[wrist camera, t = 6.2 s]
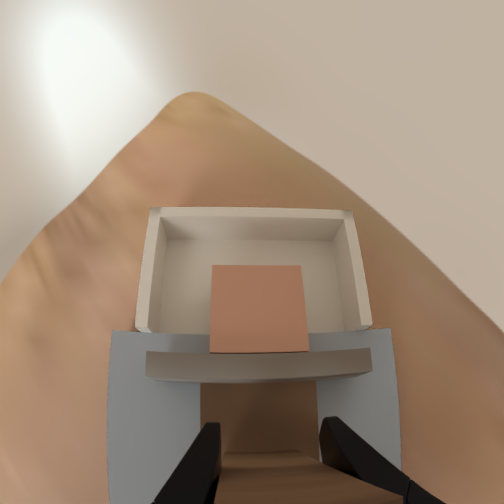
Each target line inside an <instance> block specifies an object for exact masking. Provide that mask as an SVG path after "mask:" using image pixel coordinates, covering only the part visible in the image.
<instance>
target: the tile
mask: <svg viewBox="0 0 504 504" xmlns="http://www.w3.org/2000/svg"><path fill="white" fill-rule="evenodd" d="M309 351H310V350H309V339H308V328H307V318H306V308H305V298H304V289H303V280H302V271H301V265H212V284H211V313H210V354H269V353H299V352H309Z"/></svg>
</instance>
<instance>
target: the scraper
mask: <svg viewBox="0 0 504 504" xmlns="http://www.w3.org/2000/svg"><path fill="white" fill-rule="evenodd" d="M371 371H373V367H372V358H371V349H370V348H359V349H347V350H334V351H318V352H299V353H269V354H207V353H177V352H157V351H146V364H145V376H147V377H149V378H151V379H153V380H155V381H162V382H178V383H200V430H201V429H202V427H203V426H204V424H205V423H206V422H219V423H220V426H221V461H222V469H221V473H220V477H219V482H218V486H217V491H216V496H215V500H214V504H403V496H401V495H398V494H395V493H392V492H390V491H387V490H384V489H382V488H379V487H376V486H374V485H371V484H369V483H367V482H364V481H362V480H359V479H357V478H355V477H352V476H350V475H348V474H345V473H343V472H341V471H339V470H337V469H334V468H332V467H330V466H327V465H325V464H323V463H322V462H320V457H319V428H318V407H317V389H316V381H322V380H334V379H344V378H354V377H358V376H360V375H363V374H366V373H368V372H371Z"/></svg>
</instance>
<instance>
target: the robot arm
mask: <svg viewBox="0 0 504 504" xmlns="http://www.w3.org/2000/svg"><path fill="white" fill-rule="evenodd" d="M319 444H320V450H321V457H322V463H323V464H325V465H327V466H330V467H332V468H334V469H337V470H339V471H341V472H343V473H345V474H348V475H350V476H352V477H355V478H357V479H359V480H362V481H364V482H367V483H369V484H371V485H374V486H376V487H379V488H382V489H384V490H387V491H390V492H392V493H395V494H398V495H401V496H403V504H446V503H444V502H442V501H441V500H439V499H438V498H436V497H434V496H433V495H431V494H430V493H429V492H427V491H426V490H424V489H423V488H422V487H420V486H419V485H418V484H417V483H415V482H414V481H413V480H410V478H409V477H408V476H407V475H405V474H404V473H403V472H402V471H400V470H399V469H398V468H397V467H396V466H394V465H393V464H392V463H391V462H390V461H388V460H387V459H386V458H385V457H384V456H382V455H381V454H380V453H379V452H378V451H376V450H375V449H374V448H373V447H372V446H371V445H369V444H368V443H367V442H366V441H365V440H364V439H363V438H361V437H360V436H359V435H358V434H357V433H356V432H355V431H353V430H352V429H351V428H350V427H349V426H348V425H347V424H346V423H344V422H343V421H342V420H341V419H340V418H339V417H337V416H330V417H324V418H323V420H322V424H321V428H320V432H319ZM221 469H222V461H221V426H220V423H219V422H206V423H205V424H204V426H203V427H202V429H201V430H200V432H199V433H198V435H197V436H196V438H195V439H194V441H193V443H192V444H191V446H190V447H189V449H188V450H187V452H186V453H185V455H184V456H183V458H182V459H181V461H180V462H179V464H178V465H177V467H176V468H175V470H174V471H173V473H172V474H171V476H170V477H169V478H168V480H167V481H166V483H165V484H164V486H163V487H162V489H161V490H160V492H159V493H158V494H157V496H156V497H155V499H154V502H152V503H151V504H214V500H215V496H216V491H217V486H218V482H219V477H220V473H221Z"/></svg>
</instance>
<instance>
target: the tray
mask: <svg viewBox="0 0 504 504" xmlns="http://www.w3.org/2000/svg"><path fill="white" fill-rule="evenodd" d="M212 265H301V271H302V280H303V289H304V298H305V308H306V318H307V328H308V333H326V332H343V331H358V330H366V329H367V328H369V327H370V326H371V325H373V324H372V316H371V309H370V303H369V296H368V290H367V284H366V278H365V273H364V267H363V262H362V256H361V251H360V246H359V241H358V236H357V231H356V227H355V222H354V217H353V213H352V211H351V210H328V209H300V208H260V207H151V209H150V215H149V221H148V227H147V233H146V239H145V246H144V252H143V259H142V267H141V274H140V282H139V291H138V299H137V309H136V319H135V327H136V328H137V329H138V330H139V331H140V332H149V333H170V334H203V335H210V313H211V284H212Z"/></svg>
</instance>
